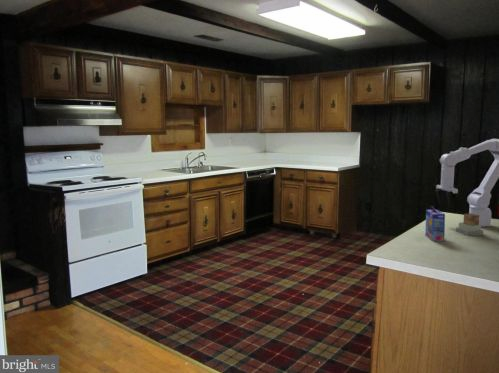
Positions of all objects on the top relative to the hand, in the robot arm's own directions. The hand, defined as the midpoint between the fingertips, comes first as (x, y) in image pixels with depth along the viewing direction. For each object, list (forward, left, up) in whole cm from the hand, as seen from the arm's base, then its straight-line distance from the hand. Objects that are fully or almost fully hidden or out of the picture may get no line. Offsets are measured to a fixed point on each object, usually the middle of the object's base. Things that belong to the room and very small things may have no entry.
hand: (445, 205), depth 204 cm
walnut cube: (-3, +15, -6) cm, 17 cm away
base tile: (-3, +15, -11) cm, 19 cm away
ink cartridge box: (+18, +20, -11) cm, 29 cm away
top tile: (-3, +15, -9) cm, 17 cm away
